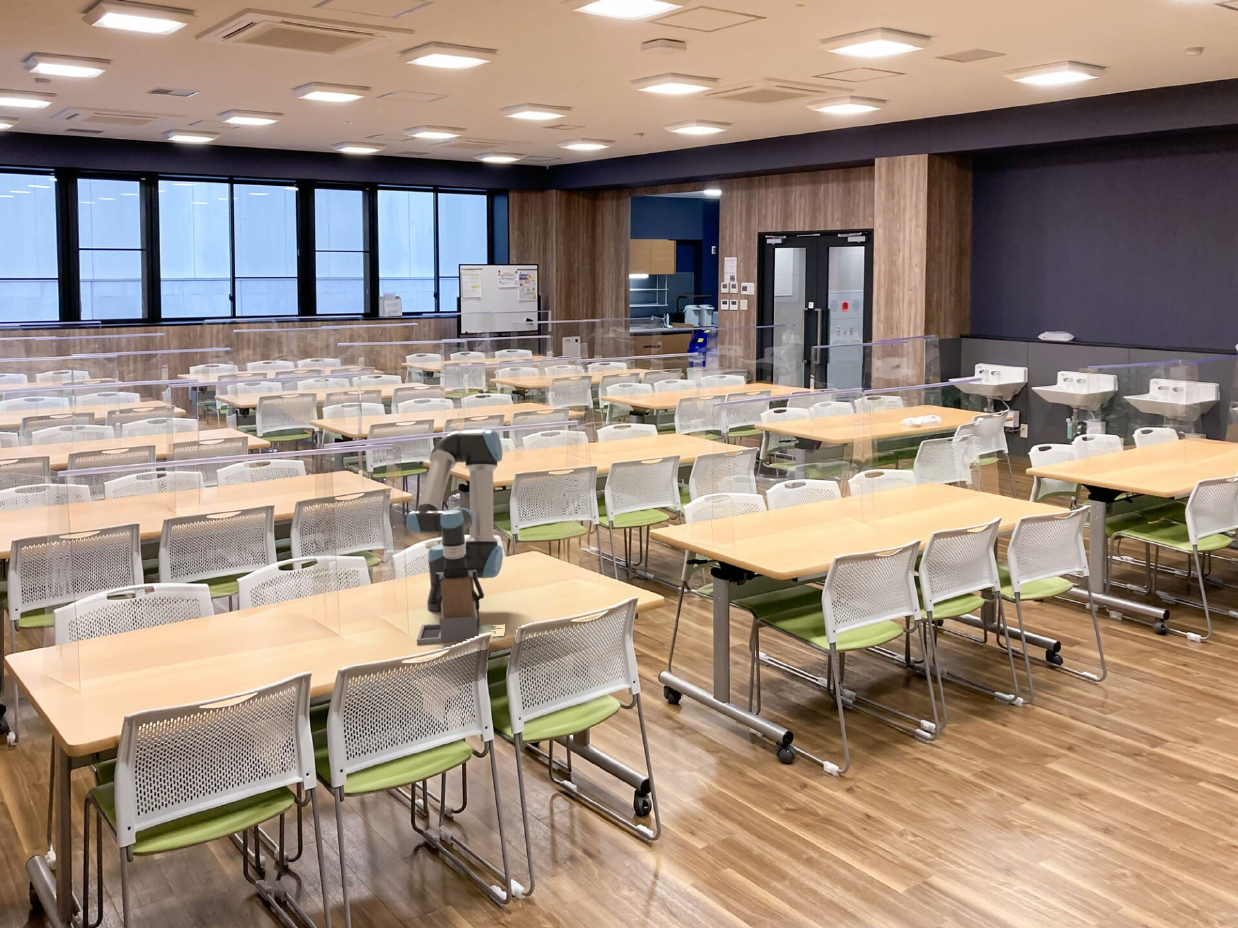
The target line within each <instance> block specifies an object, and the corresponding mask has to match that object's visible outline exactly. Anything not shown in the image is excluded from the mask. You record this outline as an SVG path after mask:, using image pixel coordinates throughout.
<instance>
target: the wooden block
mask: <svg viewBox="0 0 1238 928" xmlns="http://www.w3.org/2000/svg"><path fill="white" fill-rule="evenodd" d="M474 585H475V583H474V581H473V577H471V576H470V574H468V575H467V577H463V578H453V579H449V578H445V577H444V576H443V578H442V580H441V594H442V607H443V618H455V617H469V616H474V609H473V599H474V598H473V596H472V588H473V589H474V590H475V588H474V587H475V586H474ZM476 624H477V623H476Z"/></svg>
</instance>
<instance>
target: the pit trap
mask: <svg viewBox="0 0 1238 928" xmlns="http://www.w3.org/2000/svg"><path fill="white" fill-rule="evenodd" d="M437 643H439V644H440V643H442V642H441V632H440V623H430V624H421V626H420V628H419V632H418V635H417V639H416V644H417V645H424V644H425V645H426V644H437Z"/></svg>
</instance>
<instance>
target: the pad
mask: <svg viewBox="0 0 1238 928" xmlns="http://www.w3.org/2000/svg"><path fill="white" fill-rule="evenodd" d="M493 625H494V624H482V625H481V624H480V626H478V632H477V636H478V635H479V634H483V633H487V632H493V633H494V634H496V631H491V630H495V629H502V628H495V627H496V626H493ZM495 625H498V624H497V623H495ZM497 627H498V626H497Z"/></svg>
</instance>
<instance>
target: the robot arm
mask: <svg viewBox="0 0 1238 928" xmlns="http://www.w3.org/2000/svg"><path fill="white" fill-rule="evenodd" d="M502 460H503V446H502V441H501V438H500V435H499V433H498V432H497V431H496V430H494V429H493V430H491V429H476V430H475V429H474V430H471V429H470V430H455V431H451V432H450V433H447V434H446V435H444V436H442V438H440V440H439V441H438V442H437V443H435V446H433V448H432V451H431V453H430V455H429V463H430V465H429V468H428V473H427V475H426V479H425V482H424V485H423V489H422V492H421V495H420V497H419V502H418V505H417V509H416V510H412V511H410V512H408V513H407V516H406V526H407V529H408V531H409V533H413V534H435V533H437V534H438V533H439V534H441V541H442V543H439V544H435V545H433V546H432V547H430V548H429V549H428V553H427V554H428V559H427V562H428V571H429V581H430V589H429V593H428V597H427V609H428V610H430V611H433V612H438V613H441V618H443V607H442V594H441V580H442V578H443V576H444V577H445V578H449V579H453V578H463V577H467V575H468V574H470V576H471V577H473V583H474V585H475V586H474V587H475V588H476V590H477V592H476V590H475V588H474V589H473V588H472V596H473V598H474V599H473V609H474V616H476V620H477V611H476V610H478V609H479V610H480V600H482V599H484V597H485V593H484V591H483V588H482V585H481V584H480V581H479V579H484V580H485V579H491V578H497V576H498V575H499V574H500V571H501V568H502V566H503V565H502V564H503V559H504V558H503V557H504V556H503V555H504V553H503V547H502V546H501V545H499V544H498V543H499V542H498V541H499V540H497V538H496V537H495V536H494V471H495V470H496V469H497V468H498V463H499V462H501V461H502ZM458 463H465V468H466V469H467V470H468V471H469V508H466V507H460V508H457V509H449V510H440V509H441V506H442V504H443V503H442V501H443V498H444V495H445V492H446V488H447V485H448V482H449V478H450V475H451V472H452V470H453V469H454V468H455V466H456V464H458ZM468 530H469V537H468V538H467V539H465V532H467V531H468Z"/></svg>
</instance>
